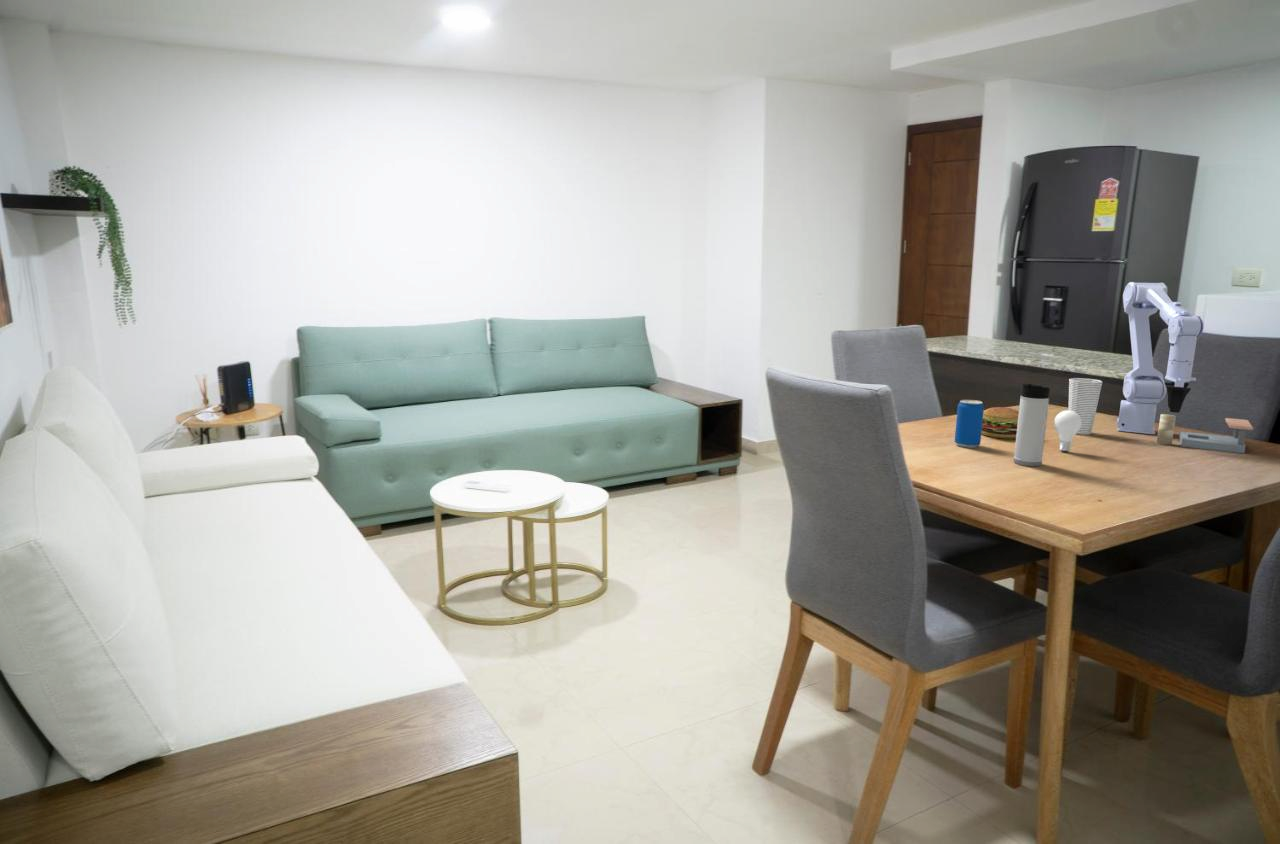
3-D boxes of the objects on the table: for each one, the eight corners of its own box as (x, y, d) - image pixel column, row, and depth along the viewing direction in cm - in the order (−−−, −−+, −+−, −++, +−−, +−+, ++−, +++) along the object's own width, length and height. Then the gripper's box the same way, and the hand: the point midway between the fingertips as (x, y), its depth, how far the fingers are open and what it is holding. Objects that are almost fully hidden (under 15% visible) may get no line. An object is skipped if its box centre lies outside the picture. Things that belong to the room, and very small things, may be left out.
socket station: (1181, 446, 226) (1185, 421, 225) (1179, 438, 237) (1182, 414, 236) (1249, 453, 219) (1253, 427, 217) (1243, 444, 230) (1247, 419, 228)
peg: (1156, 444, 229) (1160, 415, 227) (1156, 441, 232) (1160, 413, 230) (1172, 445, 227) (1176, 417, 225) (1171, 443, 230) (1175, 415, 228)
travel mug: (1006, 461, 206) (1015, 381, 202) (1027, 459, 208) (1036, 380, 204) (1026, 467, 200) (1035, 385, 196) (1047, 465, 203) (1056, 384, 199)
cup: (1100, 436, 237) (1107, 382, 234) (1068, 435, 239) (1075, 381, 236) (1089, 430, 246) (1096, 378, 243) (1058, 429, 247) (1065, 377, 244)
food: (981, 439, 232) (983, 411, 230) (970, 429, 245) (973, 402, 244) (1033, 442, 229) (1036, 413, 228) (1020, 431, 243) (1023, 405, 241)
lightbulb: (1052, 447, 222) (1056, 407, 220) (1078, 451, 219) (1083, 409, 217) (1049, 452, 217) (1054, 410, 215) (1077, 455, 214) (1082, 413, 211)
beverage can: (975, 443, 226) (980, 399, 224) (983, 448, 220) (987, 404, 217) (951, 442, 227) (955, 399, 224) (957, 447, 220) (962, 403, 218)
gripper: (1200, 364, 217) (1193, 415, 219) (1196, 359, 229) (1189, 407, 232) (1168, 362, 220) (1161, 412, 223) (1166, 357, 233) (1159, 405, 235)
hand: (1173, 410), depth 228 cm, fingers open, 7 cm apart
